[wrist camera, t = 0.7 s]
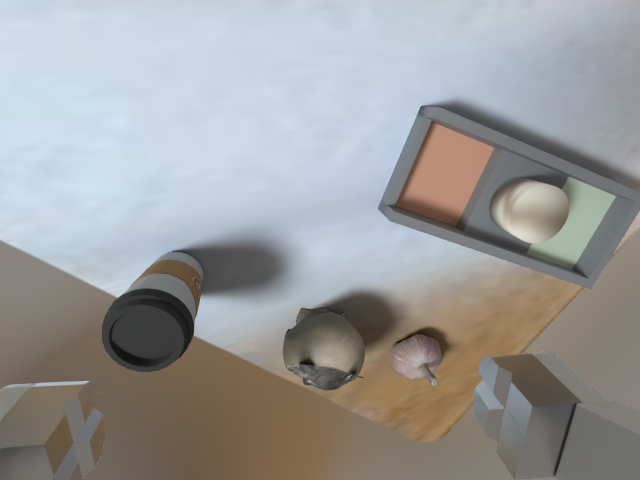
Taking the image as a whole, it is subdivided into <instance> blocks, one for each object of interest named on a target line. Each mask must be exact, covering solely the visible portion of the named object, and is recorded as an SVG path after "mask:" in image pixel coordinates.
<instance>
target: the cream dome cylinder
mask: <svg viewBox="0 0 640 480" xmlns="http://www.w3.org/2000/svg"><path fill="white" fill-rule="evenodd" d="M489 211H490V216H491V219H492V221H493V222H494V224H495V225H496V226H498V227H499V228H501V229H503V230H505V231H506V232H508V233H510V234H512V235H514V236H515V237H517V238H519V239H521V240H523V241H525V242H528V243H541V242H544V241H547V240H549V239H551V238H552V237H554V236H555V235H556V234H557V233H558V232H559V231H560V230H561V229H562V227H563V226H564V224H565V222H566V220H567V218H568V214H569V201H568V198H567V196H566V194H565V193H564V192H563V191H562V190H561V189H560V188H558V187H555V186H552V185H549V184H545V183H542V182H539V181H535V180H532V179H529V178H525V177H516V178H512V179H510V180H508V181H506V182H504V183H503V184H502V185H501V186H499V188H498V189H497V190H496V191H495V193H494V194H493V196H492V199H491V202H490V207H489Z"/></svg>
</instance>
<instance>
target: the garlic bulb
mask: <svg viewBox="0 0 640 480" xmlns="http://www.w3.org/2000/svg"><path fill="white" fill-rule="evenodd" d="M441 362H442V352H441V350H440V345H439V342H438V341H437V340H436V339H434V338H432V337H426V336H425V335H422V334H417V335H414V336H412V337H411V338H409V339H406V340H403V341H402V342H400V343H398V344H395V345H394V346H393V347H392V348H391V350H390V365H391V367H392V369H393V370H394V371H395V372H396V373H398V374H399V375H402V376H404V377H405V378H406V379H409V380H412V379H421V378H423V377H426V378H427V379H428V380H429V382H430V383H431V385H434V386H435V385H436V383H437V380H436V377H435V376H434V375H433V373H434V372H435V370H436V368H437V367H438V366H439V365H440V363H441Z"/></svg>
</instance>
